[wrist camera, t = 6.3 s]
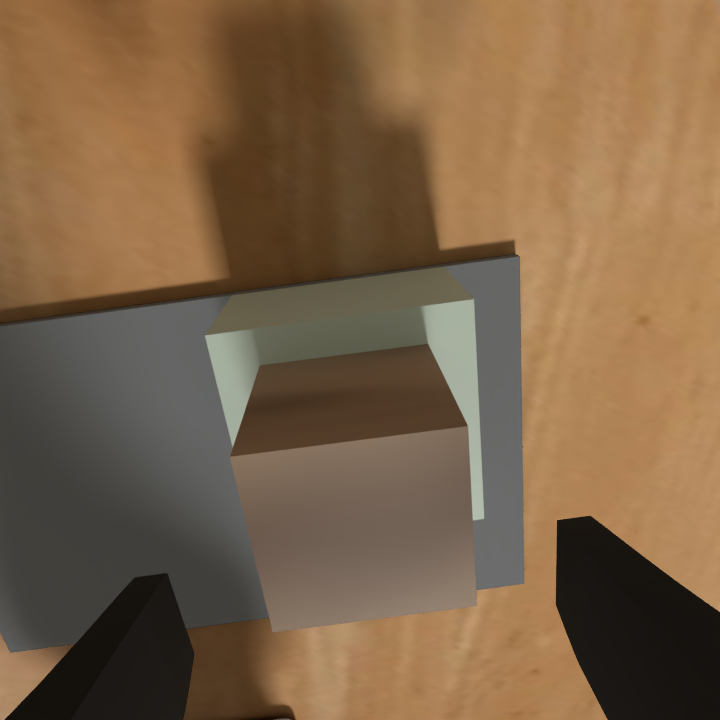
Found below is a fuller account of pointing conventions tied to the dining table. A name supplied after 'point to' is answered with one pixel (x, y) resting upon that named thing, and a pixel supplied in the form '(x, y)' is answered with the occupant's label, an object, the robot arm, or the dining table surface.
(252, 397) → the walnut cube
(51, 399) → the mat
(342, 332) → the base block
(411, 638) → the dining table surface
